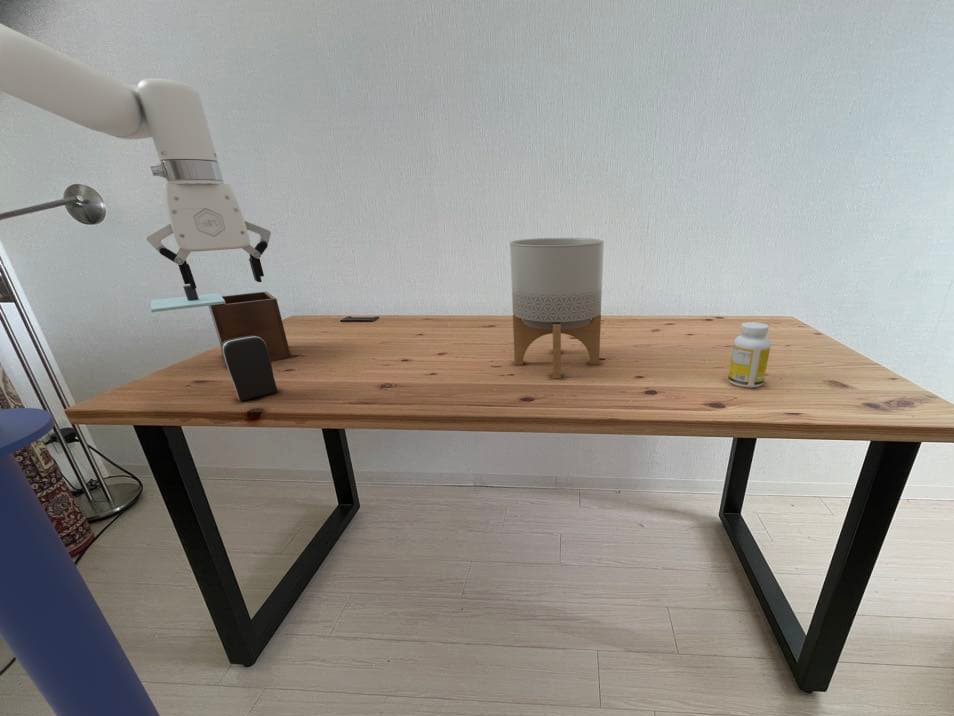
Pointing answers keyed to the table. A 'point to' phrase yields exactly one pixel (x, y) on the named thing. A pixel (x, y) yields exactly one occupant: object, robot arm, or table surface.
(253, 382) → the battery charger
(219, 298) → the lid
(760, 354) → the pill bottle
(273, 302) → the brown wooden box
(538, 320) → the planter
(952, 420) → the table surface
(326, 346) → the table surface
